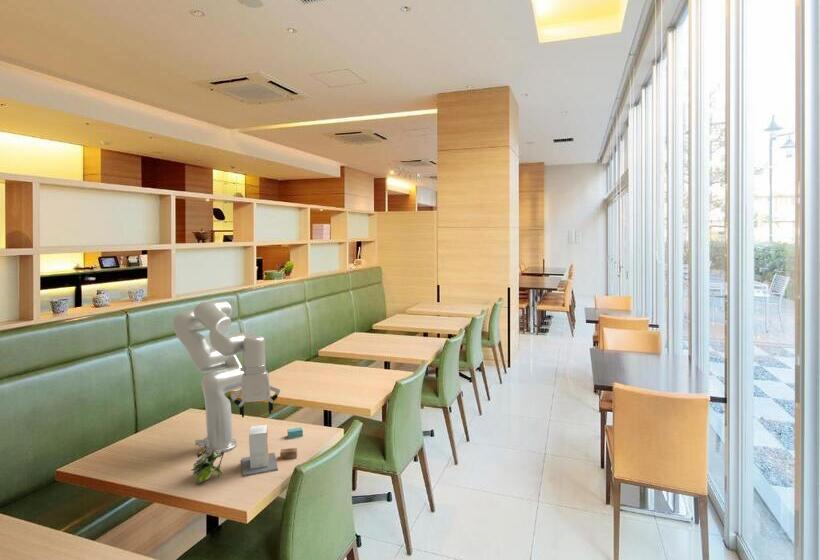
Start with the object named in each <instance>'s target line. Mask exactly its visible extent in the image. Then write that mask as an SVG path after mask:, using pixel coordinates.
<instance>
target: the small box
mask: <svg viewBox="0 0 820 560" xmlns="http://www.w3.org/2000/svg"><path fill="white" fill-rule="evenodd" d="M248 441H249V442H248V443H249V457H250V468H251V469H252V468H260V467H267V466H268V457H269V455H268V453H269V435H268V424H262V425H253V426H250V428H249V432H248Z"/></svg>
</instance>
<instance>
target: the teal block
mask: <svg viewBox="0 0 820 560" xmlns="http://www.w3.org/2000/svg"><path fill="white" fill-rule="evenodd" d="M303 431H304V430H303V427H295V428H289V429H287V438H288V439H289V438H290V439H297V438H300V437H304V434H303V433H304V432H303Z"/></svg>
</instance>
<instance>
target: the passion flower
mask: <svg viewBox="0 0 820 560" xmlns="http://www.w3.org/2000/svg"><path fill="white" fill-rule="evenodd" d="M206 451H207V449H206V450H204V449H203V450H201V451H200V452H198V453H196V454H197V455H196V457H197V460H195V462H194V463H193V467H192V468H191V469H190V471H191V472H193V473H192V474H193V475H196V476H195V484H196V485H198V484H200V483H202V482H203V481H204V482H205V481H207V480H208V479H210V477H211V476H213V472H215V473H216V474H218V476H220V475H223V471H222V470H221V464H222V461H223V457H224V454H225V452H223V450H222V451H220V452H219V453H216V451H215V450H212V451H211V452H209V453H207V452H206ZM205 453H206V454H205ZM217 458H220V461H219V463H218V465H217V466H214V462H216V461H217Z"/></svg>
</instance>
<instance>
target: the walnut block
mask: <svg viewBox="0 0 820 560" xmlns="http://www.w3.org/2000/svg"><path fill="white" fill-rule="evenodd" d="M279 454H280V455H279V457H280V460H281V459H283V460H292V459H293V460H294V459H297V458H298V448H297V447H292V448H291V447H290V448H281V449H280V453H279Z"/></svg>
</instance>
